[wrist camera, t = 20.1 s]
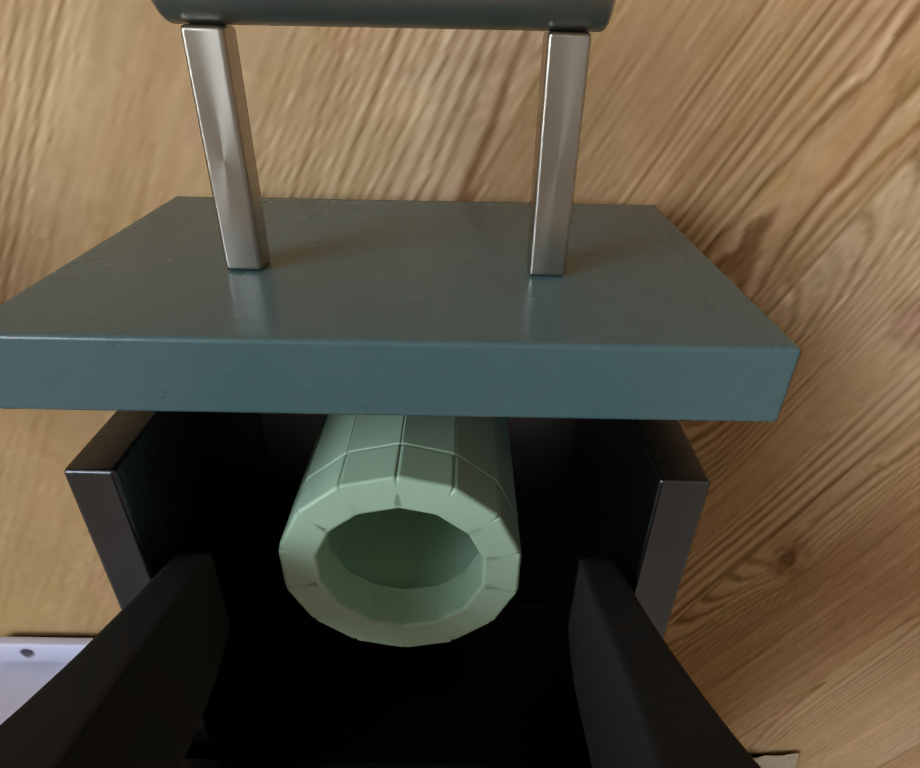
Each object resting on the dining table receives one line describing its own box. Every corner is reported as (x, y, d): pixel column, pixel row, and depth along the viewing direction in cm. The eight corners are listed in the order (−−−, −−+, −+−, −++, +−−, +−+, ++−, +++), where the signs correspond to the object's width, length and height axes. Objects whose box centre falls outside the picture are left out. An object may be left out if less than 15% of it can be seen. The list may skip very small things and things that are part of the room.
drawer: (116, -67, 11) (-290, -166, 5) (703, -55, 11) (979, -141, 5) (263, 586, 21) (179, 822, 15) (584, 591, 21) (633, 829, 15)
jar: (337, 491, 17) (295, 647, 13) (320, 343, 15) (261, 475, 11) (500, 494, 17) (513, 650, 13) (510, 347, 15) (529, 479, 11)
